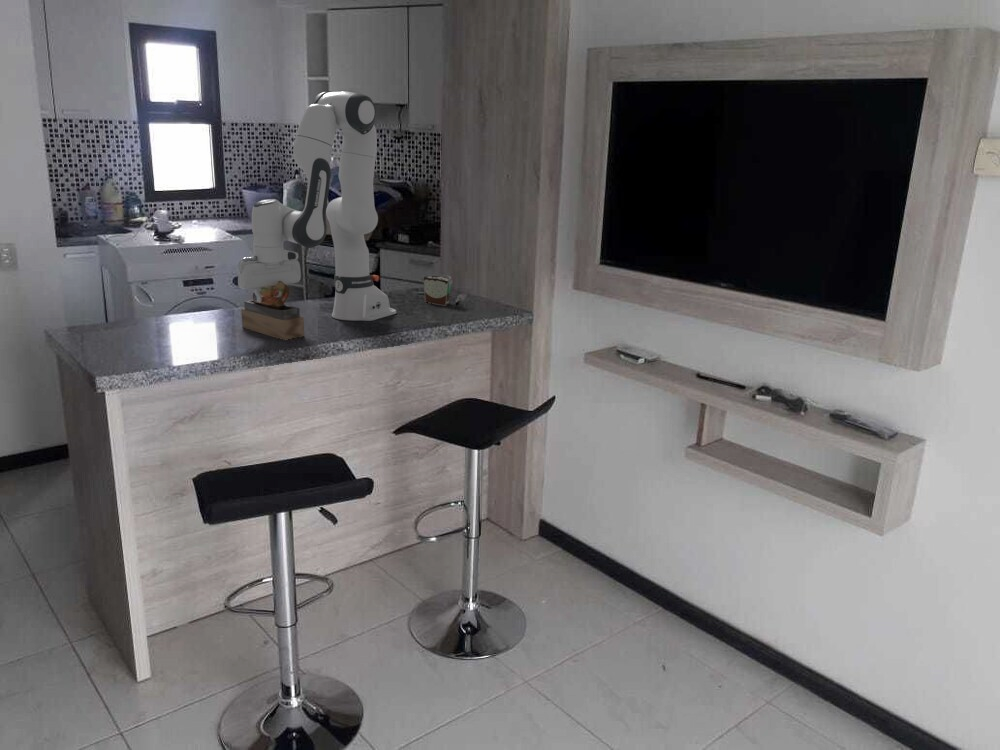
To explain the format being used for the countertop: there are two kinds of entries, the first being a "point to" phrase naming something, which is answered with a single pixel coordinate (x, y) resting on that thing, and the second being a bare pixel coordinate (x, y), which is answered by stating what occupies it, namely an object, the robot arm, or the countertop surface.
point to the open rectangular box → (273, 320)
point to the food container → (437, 289)
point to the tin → (273, 295)
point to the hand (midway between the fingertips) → (271, 300)
